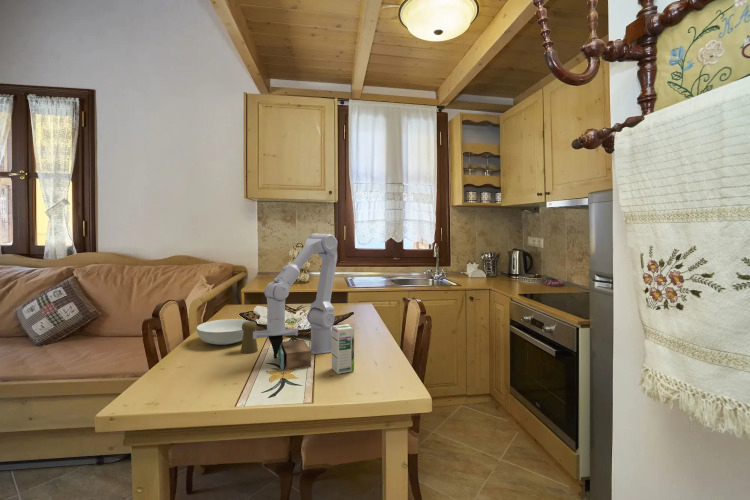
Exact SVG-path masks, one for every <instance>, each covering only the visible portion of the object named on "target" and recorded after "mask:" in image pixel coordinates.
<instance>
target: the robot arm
mask: <svg viewBox="0 0 750 500" xmlns="http://www.w3.org/2000/svg"><path fill="white" fill-rule="evenodd" d="M304 243H305V244H304V246H303V247H302V249H301V250H300V251H299V253H298V254H297V256H296V257H295V258H294V260H293V261H292V263H289V264H286V265H283V267H281V268H282V269H281V271H280V272H279V273H278V275H277V276H275V278H274V279H273V281H271V282H269V283H267V285H266V286H265V289H264V290H263V294H264V296H265V298H266V303H267V308H266V309H267V310H266V311H267V312H266V318H267V321H266V329H262V330H258V331H256V330H255V332H253V339H256V340H257V339H262V338H263V339H264V338H268V340H269V342H270V345H271V347H272V350H273V358H274V360H275V359H276V360H277V358H278V350H279V347H280V345H281V343H282V342H284V337H287V336H299V330H298V328H286V326H285V325H286V324H285V323H286V322H285V321H286V320H285V318H286V299H287V298H288V297H289V294H290V290H291V287H292V286H293V284H294V283H295V282H296V280H297V279H298V278H299V277H300V275H301V273H300V271H301V269H302V268H303V267H304V265H305V264H306V263H307V262H308V261H309V260H310V259H311V257H312V256H313V255H316V254H317V255H318V256H319V257H320V258H321V267H320V271H319V278H318V285H317V291H316V297H315V300H314V301H313V302H312V303H311V304H310V306H309V307H310V308H309V310H308V312H307V313H306V319H307V322H308V323H309V326H310V346H308V347H309V348H310V349H311V355H319V354H326V353H332V326H334V323H335V320H336V319H335V317H336V316H335V307H334V306H333V305H332V303H331V300H332V293H333V288H334V287H333V285H334V281H335V274H336V268H337V261H338V251H337V250H338V249H337V248H338V244H339V243H338V240H337V238H336V237H335V236H334V235H333V234H331V233H315V232H314V233H312V234H310V235H309V236H308V238H307V239H306V240H305V242H304Z"/></svg>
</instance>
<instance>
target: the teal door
mask: <svg viewBox="0 0 750 500" xmlns="http://www.w3.org/2000/svg"><path fill="white" fill-rule="evenodd" d="M276 360H277V363H279V366H280V370H281V371H282V370H283V371H284V369H285V367H284V366H285V365H284V353H283V350H282V347H281V345H280V347H279V350H278V353H277V358H276Z"/></svg>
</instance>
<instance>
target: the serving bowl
mask: <svg viewBox="0 0 750 500" xmlns="http://www.w3.org/2000/svg"><path fill="white" fill-rule="evenodd" d="M248 321H249V320H246V319H241V318H232V319H231V318H230V319H229V318H228V319H216V320H210V321H207V322H203V323H200V324H198V325H197V326H196V333H197V335H198V337H199V338H200V339H201V341H203V342H204V343H207V344H211V345H217V346H228V345H232V344H235V343H239V342H242V338H243V330H242V324H243V323H244V322H248Z"/></svg>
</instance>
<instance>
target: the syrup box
mask: <svg viewBox="0 0 750 500" xmlns="http://www.w3.org/2000/svg"><path fill="white" fill-rule="evenodd" d="M331 369H332V370H333V371H334V372H335V373H336V374H337V375H340V374H345V373H351V372H354V371H355V328H354V326H353V325H351V324H349V323H345V324H338V325H337V324H336V325H332V352H331Z"/></svg>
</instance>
